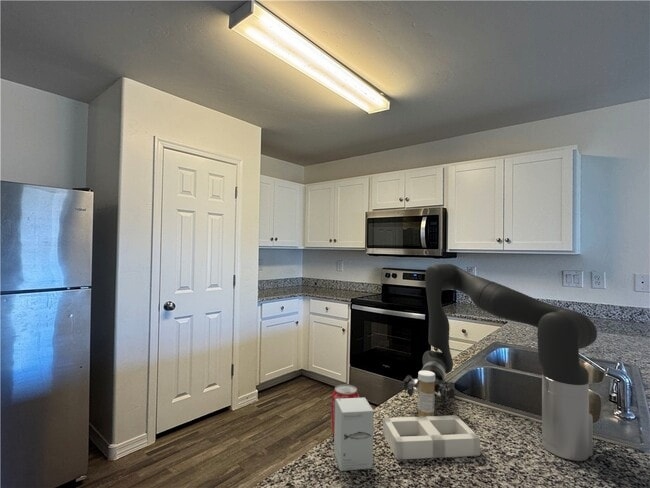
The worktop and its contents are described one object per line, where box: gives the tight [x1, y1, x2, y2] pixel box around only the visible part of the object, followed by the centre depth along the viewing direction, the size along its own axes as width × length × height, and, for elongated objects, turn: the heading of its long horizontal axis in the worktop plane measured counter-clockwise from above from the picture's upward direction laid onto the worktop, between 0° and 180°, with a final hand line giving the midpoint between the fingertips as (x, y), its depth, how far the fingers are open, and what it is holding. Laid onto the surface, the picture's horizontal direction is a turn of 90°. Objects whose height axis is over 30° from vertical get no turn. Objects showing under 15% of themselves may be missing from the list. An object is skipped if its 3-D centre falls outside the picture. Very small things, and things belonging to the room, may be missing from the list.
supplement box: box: [333, 396, 375, 472], centre depth 76 cm, size 7×7×13 cm
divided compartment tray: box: [382, 414, 481, 460], centre depth 83 cm, size 20×11×4 cm, turn 96°
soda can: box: [330, 383, 360, 436], centre depth 86 cm, size 7×7×12 cm
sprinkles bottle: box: [417, 370, 436, 417], centre depth 95 cm, size 5×5×13 cm
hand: (425, 395), depth 94 cm, fingers open, 8 cm apart
